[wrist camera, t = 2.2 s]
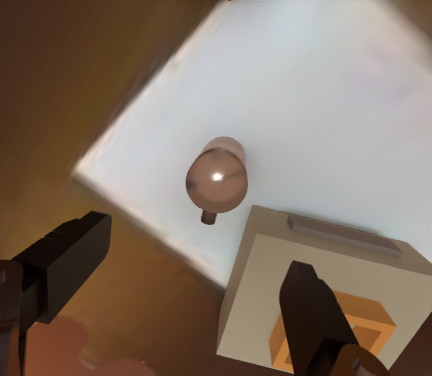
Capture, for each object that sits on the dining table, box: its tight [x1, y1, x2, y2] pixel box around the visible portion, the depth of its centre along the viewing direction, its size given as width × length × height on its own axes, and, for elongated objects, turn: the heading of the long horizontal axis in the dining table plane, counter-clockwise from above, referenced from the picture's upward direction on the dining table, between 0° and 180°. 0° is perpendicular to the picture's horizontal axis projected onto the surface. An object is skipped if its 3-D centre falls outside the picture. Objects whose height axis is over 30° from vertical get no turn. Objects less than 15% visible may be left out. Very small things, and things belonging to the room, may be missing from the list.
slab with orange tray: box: [216, 205, 432, 374], centre depth 29 cm, size 20×19×10 cm
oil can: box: [186, 137, 248, 225], centre depth 24 cm, size 7×5×10 cm
